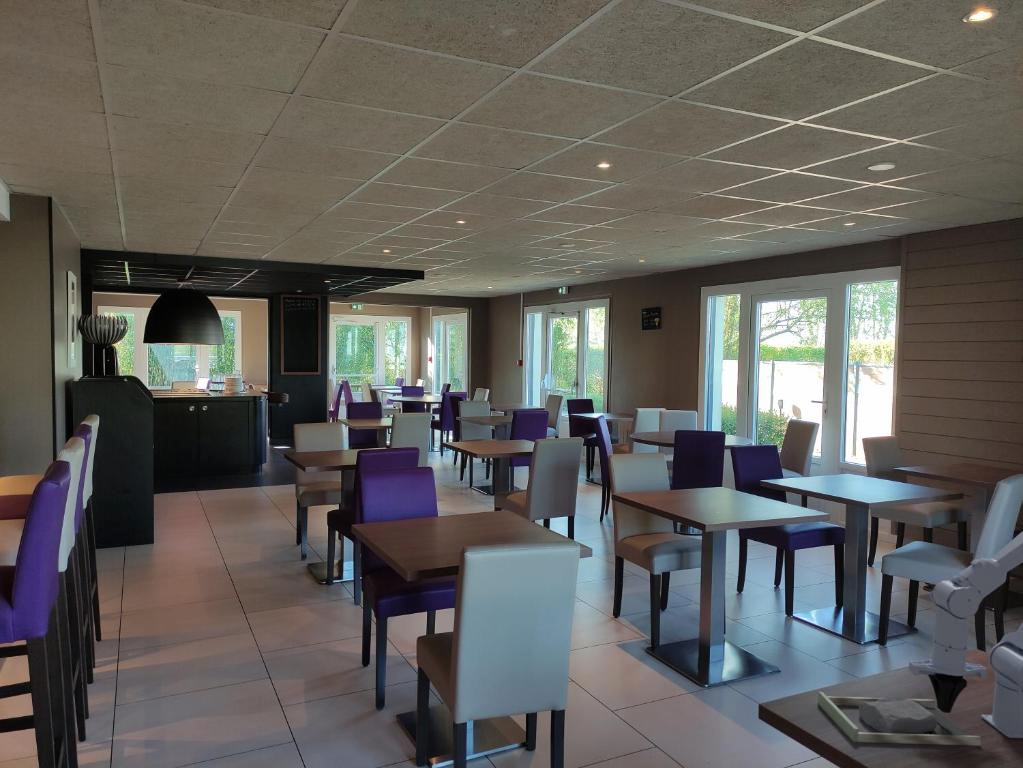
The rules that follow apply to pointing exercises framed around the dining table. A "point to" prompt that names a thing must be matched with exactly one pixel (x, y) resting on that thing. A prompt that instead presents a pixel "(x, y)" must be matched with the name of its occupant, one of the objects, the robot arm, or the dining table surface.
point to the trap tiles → (944, 725)
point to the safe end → (838, 717)
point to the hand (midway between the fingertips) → (943, 710)
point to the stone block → (897, 716)
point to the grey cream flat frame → (906, 737)
